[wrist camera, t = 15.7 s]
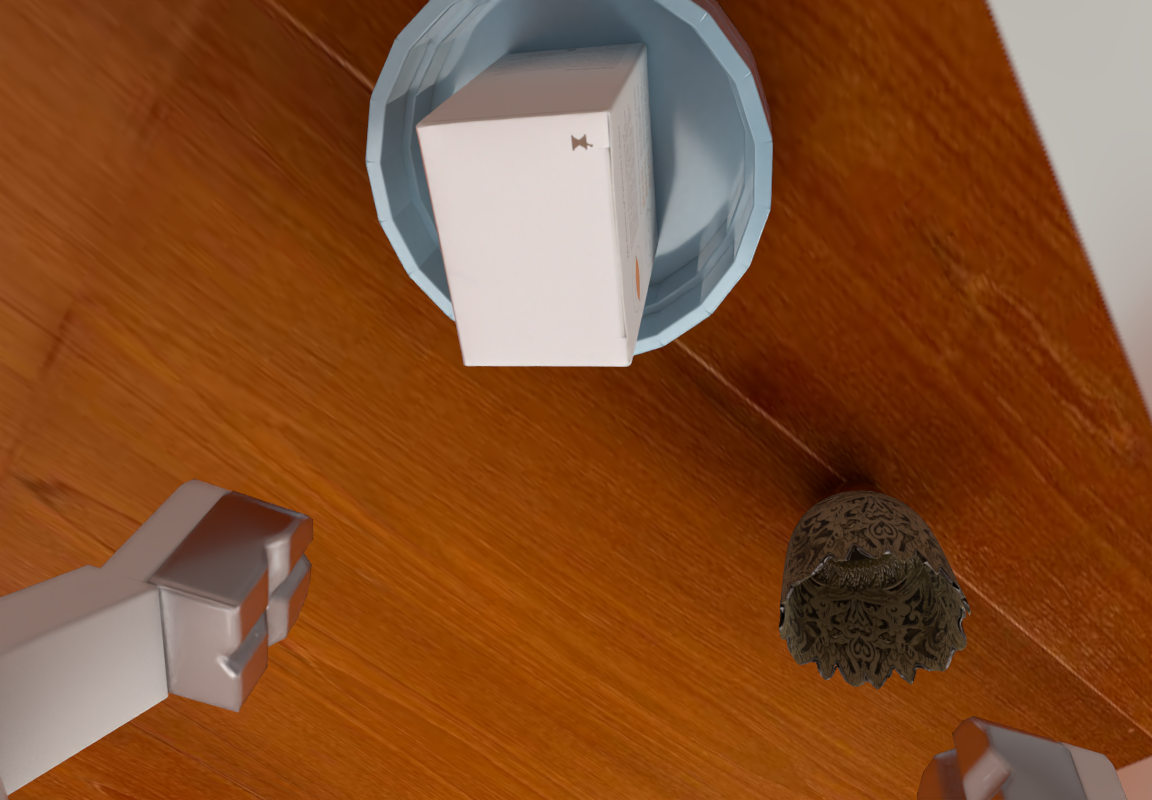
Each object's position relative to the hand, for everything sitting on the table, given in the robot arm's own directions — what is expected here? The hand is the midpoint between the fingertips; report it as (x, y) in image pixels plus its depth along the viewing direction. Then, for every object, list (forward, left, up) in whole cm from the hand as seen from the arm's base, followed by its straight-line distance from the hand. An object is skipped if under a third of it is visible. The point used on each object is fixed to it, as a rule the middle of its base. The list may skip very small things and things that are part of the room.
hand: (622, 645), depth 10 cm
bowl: (+4, +2, -26) cm, 27 cm away
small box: (+4, +2, -26) cm, 26 cm away
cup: (-12, +15, -27) cm, 33 cm away
